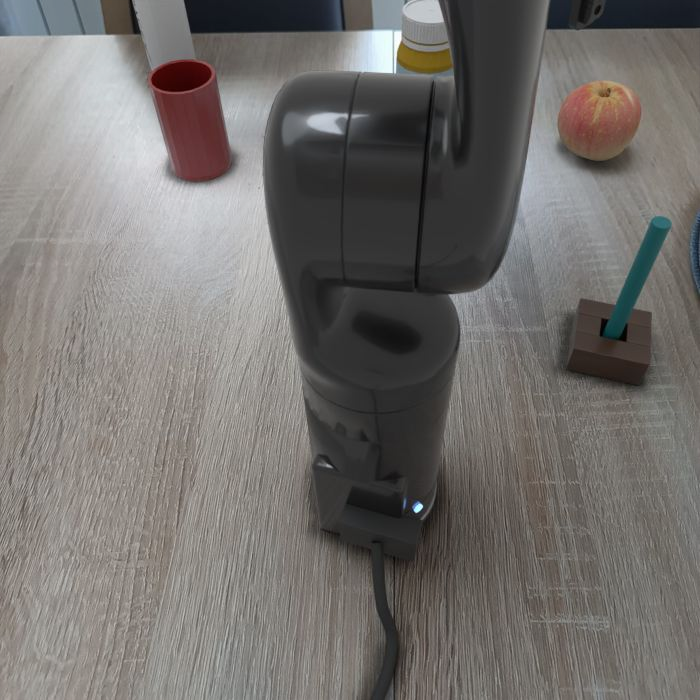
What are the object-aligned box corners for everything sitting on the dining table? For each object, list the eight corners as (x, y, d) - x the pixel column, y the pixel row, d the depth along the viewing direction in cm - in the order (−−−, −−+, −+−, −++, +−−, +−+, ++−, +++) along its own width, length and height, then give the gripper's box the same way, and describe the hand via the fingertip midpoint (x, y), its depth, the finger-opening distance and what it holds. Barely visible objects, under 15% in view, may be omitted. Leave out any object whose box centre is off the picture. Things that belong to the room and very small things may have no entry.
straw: (611, 358, 59) (671, 229, 47) (595, 355, 59) (651, 226, 47) (612, 347, 59) (672, 217, 48) (596, 343, 60) (651, 214, 48)
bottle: (384, 141, 81) (387, 17, 69) (408, 113, 84) (414, -9, 73) (437, 156, 78) (448, 30, 67) (459, 126, 82) (473, 2, 71)
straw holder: (638, 385, 57) (650, 364, 54) (565, 369, 58) (573, 348, 56) (641, 333, 60) (652, 311, 58) (572, 319, 62) (580, 297, 59)
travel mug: (205, 67, 93) (172, -95, 78) (193, 92, 89) (156, -75, 73) (162, 66, 94) (121, -96, 78) (148, 90, 90) (102, -76, 74)
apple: (611, 182, 75) (633, 118, 68) (539, 156, 78) (553, 94, 72) (638, 144, 79) (661, 82, 73) (568, 122, 82) (585, 60, 76)
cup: (216, 186, 76) (196, 98, 67) (161, 175, 77) (135, 88, 69) (241, 151, 80) (226, 64, 72) (188, 141, 82) (167, 55, 73)
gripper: (444, -294, 39) (435, -10, 52) (646, -260, 31) (576, 61, 44) (534, -320, 41) (504, -42, 54) (741, -294, 34) (649, 20, 47)
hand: (537, 4), depth 49 cm, fingers open, 8 cm apart
